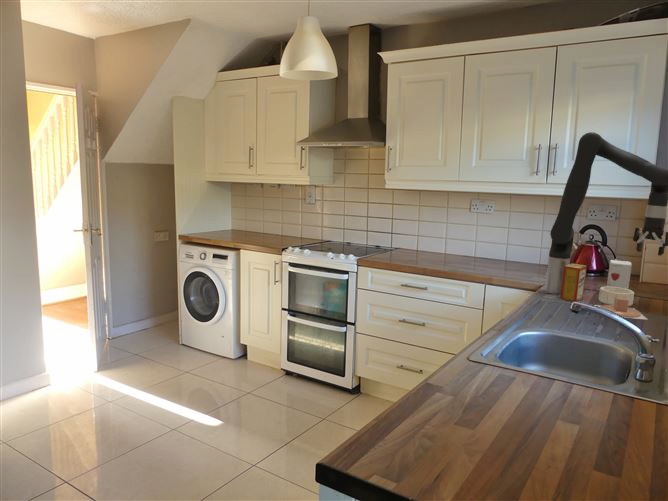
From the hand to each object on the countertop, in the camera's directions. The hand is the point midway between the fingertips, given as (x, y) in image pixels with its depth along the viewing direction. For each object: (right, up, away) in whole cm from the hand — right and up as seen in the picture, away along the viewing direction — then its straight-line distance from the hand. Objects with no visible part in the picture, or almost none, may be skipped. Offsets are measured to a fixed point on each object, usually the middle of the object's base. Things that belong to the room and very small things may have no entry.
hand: (649, 253), depth 216 cm
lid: (-18, -24, -8) cm, 31 cm away
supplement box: (+2, -19, +28) cm, 34 cm away
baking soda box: (-28, -21, +12) cm, 37 cm away
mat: (-18, -25, -8) cm, 31 cm away
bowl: (-11, -22, +8) cm, 26 cm away
